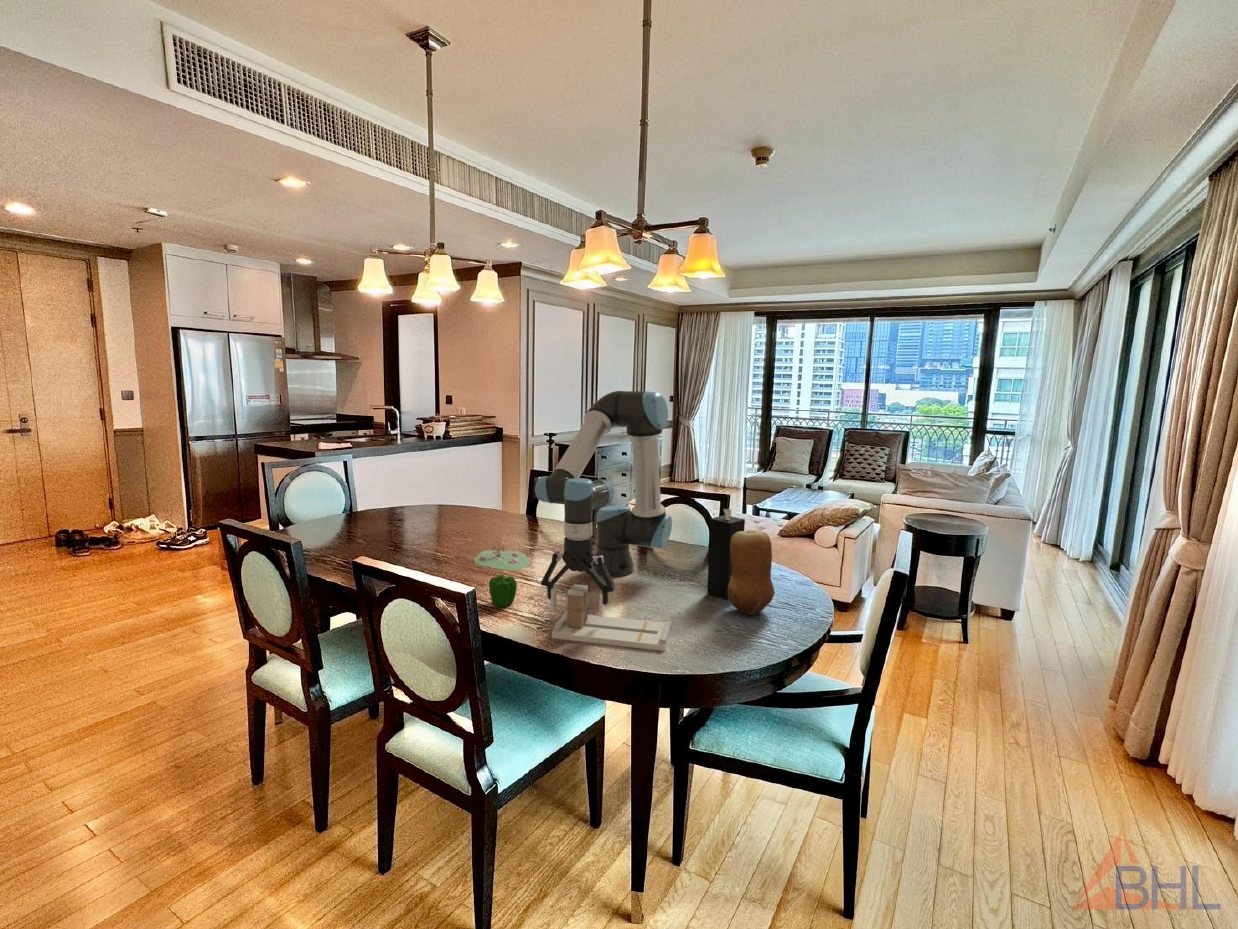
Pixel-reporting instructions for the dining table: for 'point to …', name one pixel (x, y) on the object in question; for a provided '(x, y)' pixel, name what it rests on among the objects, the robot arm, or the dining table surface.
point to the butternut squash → (750, 571)
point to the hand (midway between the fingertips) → (577, 613)
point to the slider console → (616, 632)
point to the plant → (502, 559)
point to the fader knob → (577, 606)
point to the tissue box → (721, 552)
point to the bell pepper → (502, 590)
